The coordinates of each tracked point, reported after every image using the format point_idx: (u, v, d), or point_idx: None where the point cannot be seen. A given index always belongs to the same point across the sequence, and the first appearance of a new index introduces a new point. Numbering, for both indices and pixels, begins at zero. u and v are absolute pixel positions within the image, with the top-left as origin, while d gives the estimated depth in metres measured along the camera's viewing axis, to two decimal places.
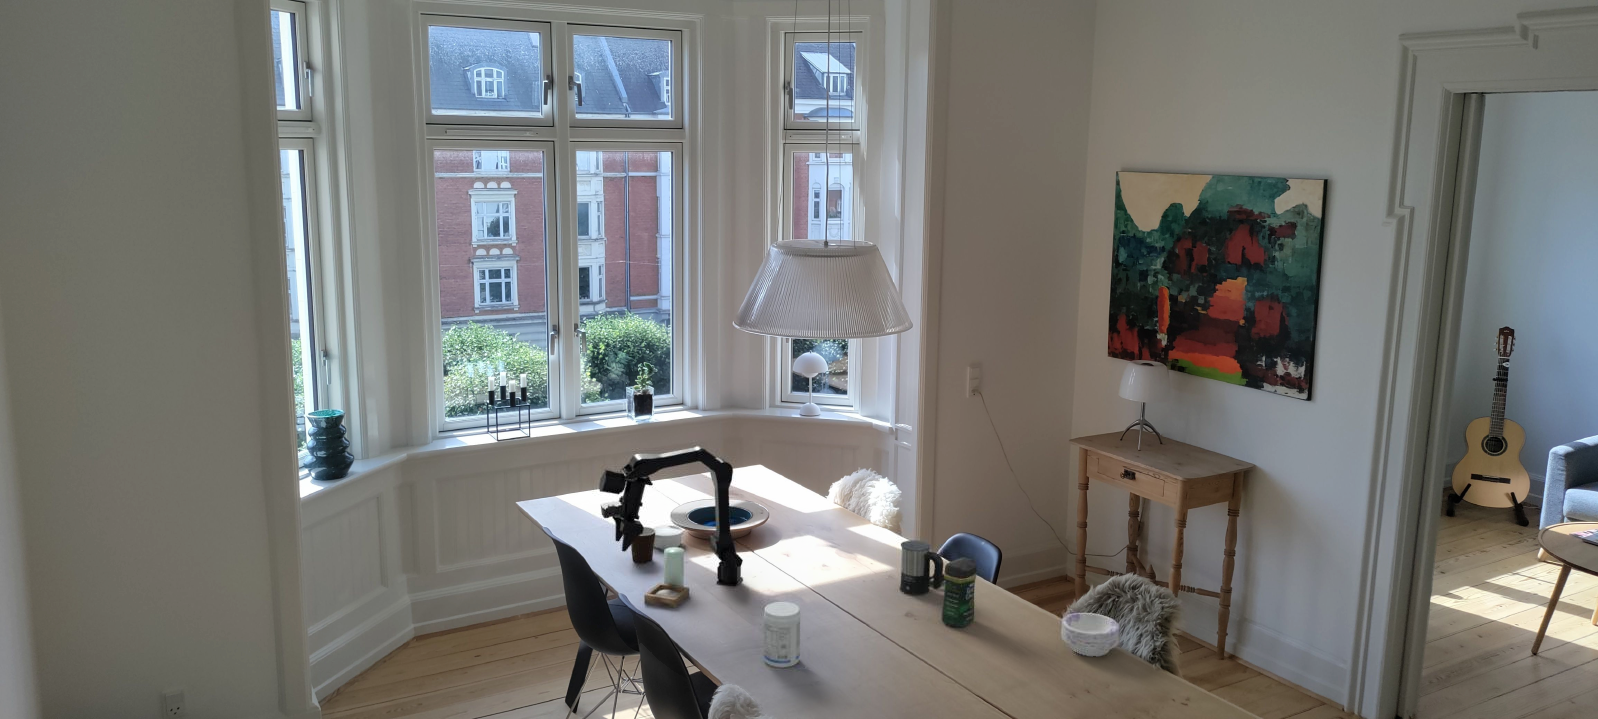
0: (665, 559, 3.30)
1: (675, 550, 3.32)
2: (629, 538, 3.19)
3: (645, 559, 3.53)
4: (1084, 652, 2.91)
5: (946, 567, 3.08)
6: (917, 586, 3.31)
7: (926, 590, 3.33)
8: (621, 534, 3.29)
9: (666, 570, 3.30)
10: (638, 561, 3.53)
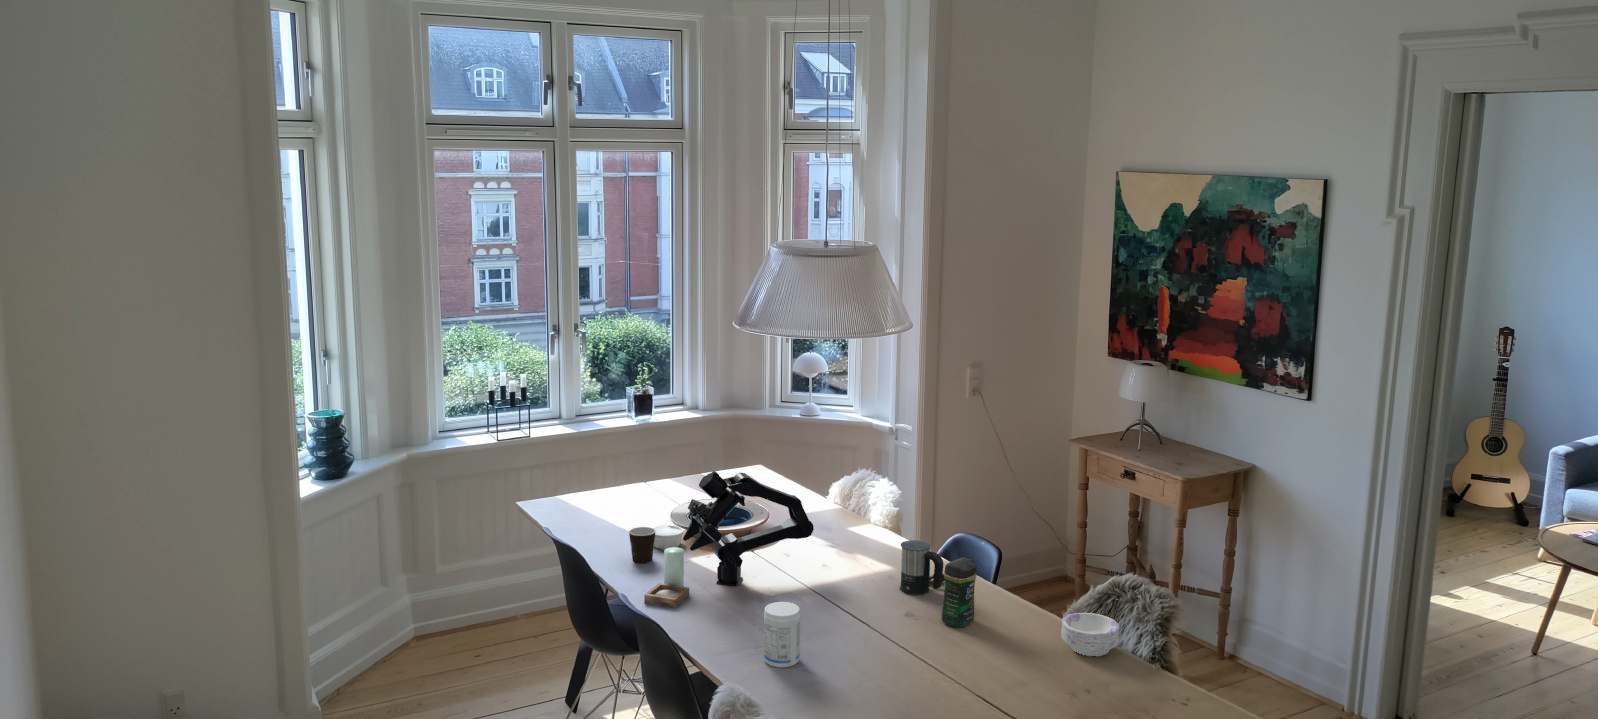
0: (665, 559, 3.30)
1: (675, 550, 3.32)
2: (702, 541, 3.28)
3: (645, 559, 3.53)
4: (1084, 652, 2.91)
5: (946, 567, 3.08)
6: (917, 586, 3.31)
7: (926, 590, 3.33)
8: (690, 536, 3.37)
9: (666, 570, 3.30)
10: (638, 561, 3.53)
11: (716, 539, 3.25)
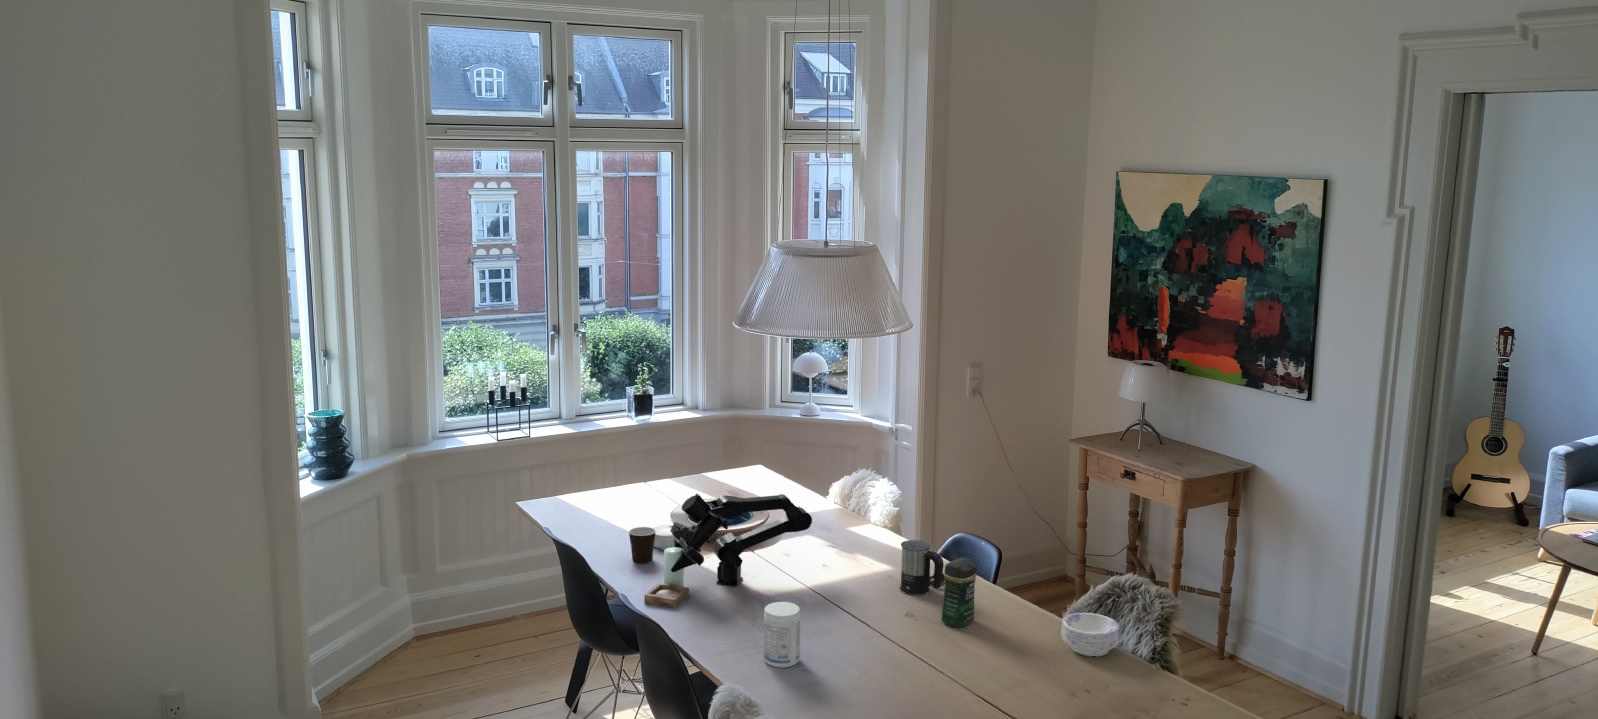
0: (665, 559, 3.30)
1: (675, 550, 3.32)
2: (683, 562, 3.29)
3: (645, 559, 3.53)
4: (1084, 652, 2.91)
5: (946, 567, 3.08)
6: (917, 585, 3.31)
7: (926, 590, 3.33)
8: None
9: (666, 570, 3.30)
10: (638, 561, 3.53)
11: (698, 563, 3.25)
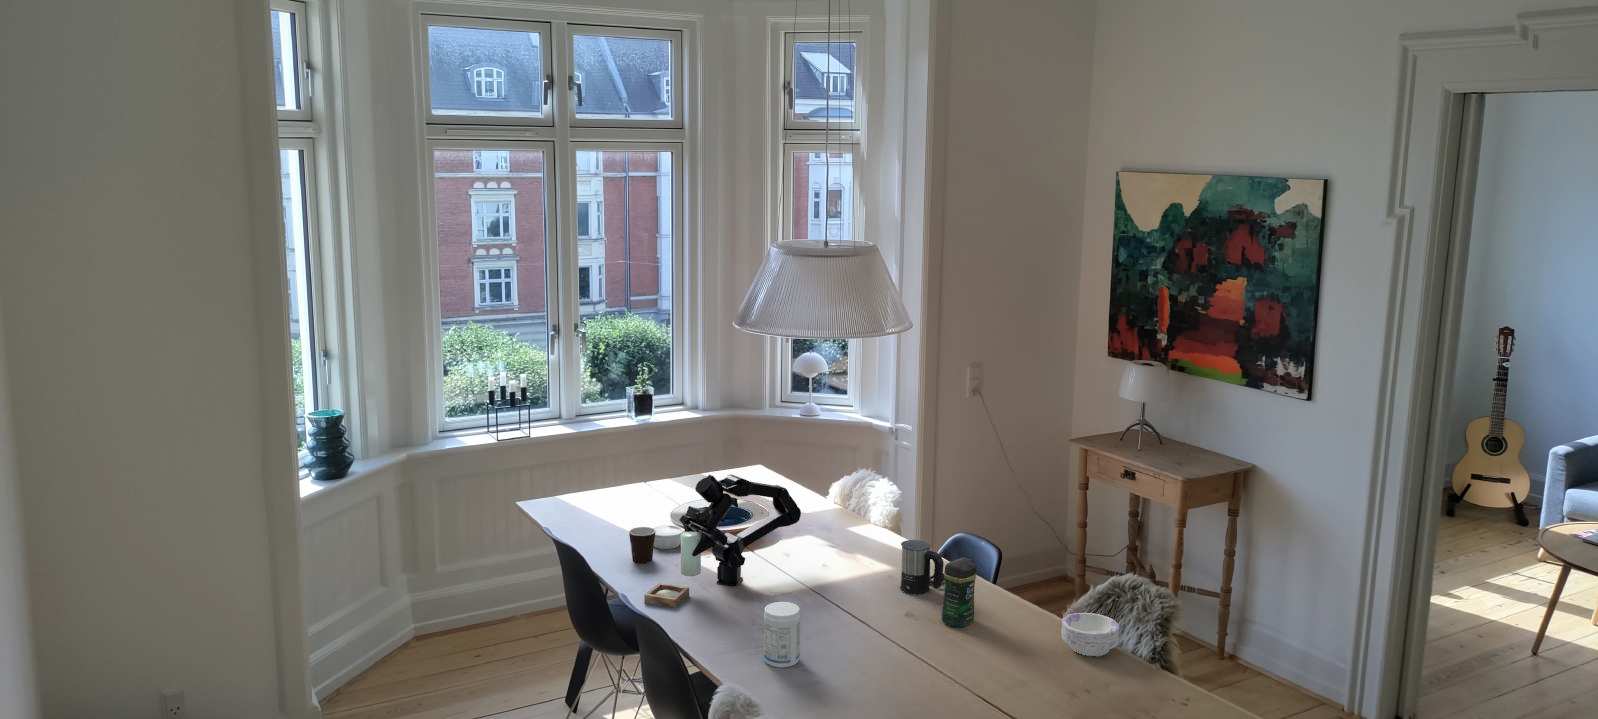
0: (684, 544, 3.25)
1: (691, 534, 3.27)
2: (704, 545, 3.25)
3: (645, 559, 3.53)
4: (1084, 652, 2.91)
5: (946, 567, 3.08)
6: (917, 585, 3.31)
7: (926, 589, 3.33)
8: None
9: (686, 555, 3.25)
10: (638, 561, 3.53)
11: (723, 543, 3.24)
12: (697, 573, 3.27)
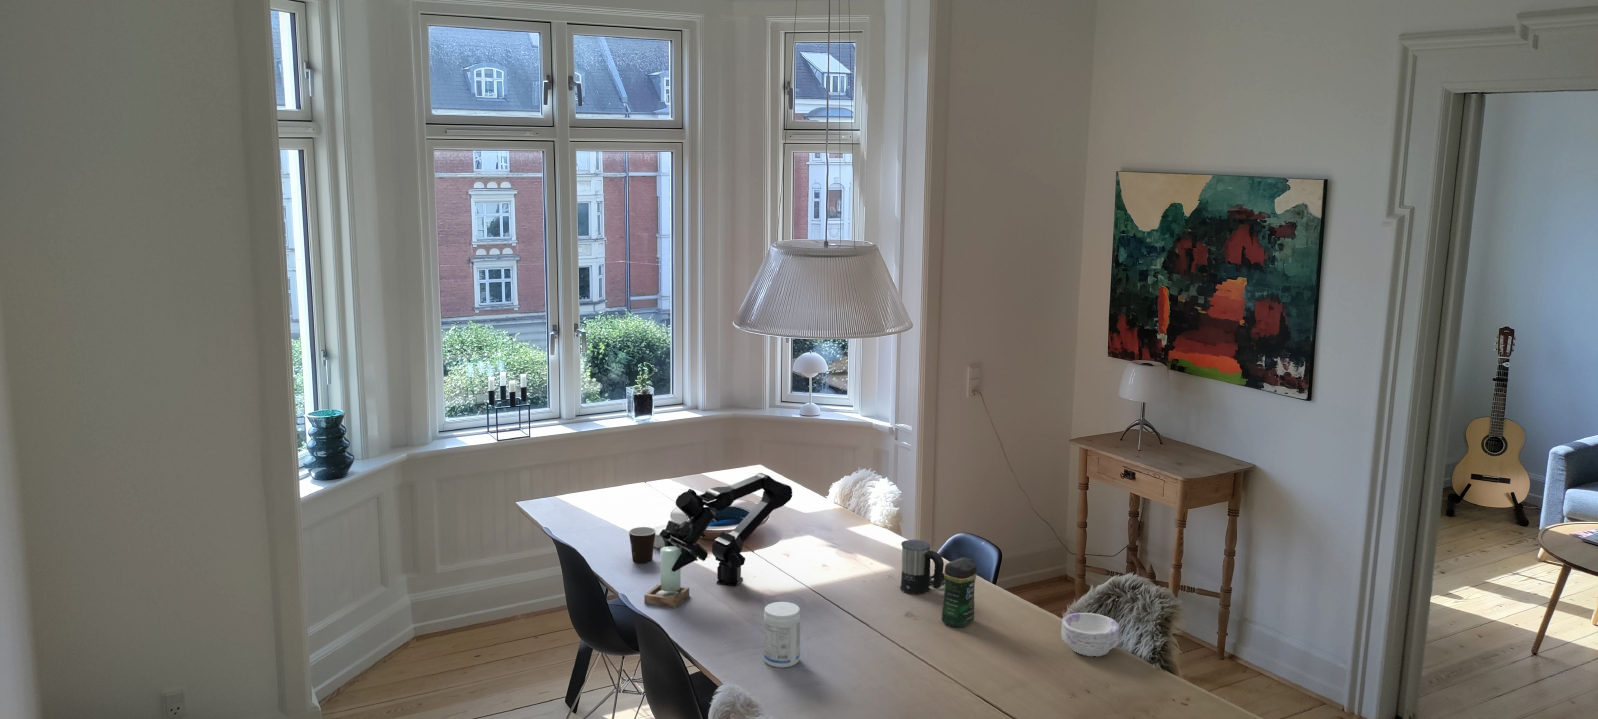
0: (664, 559, 3.21)
1: (671, 548, 3.23)
2: (684, 560, 3.21)
3: (645, 559, 3.53)
4: (1084, 652, 2.91)
5: (946, 567, 3.08)
6: (917, 585, 3.31)
7: (926, 589, 3.33)
8: None
9: (665, 570, 3.21)
10: (638, 561, 3.53)
11: (703, 558, 3.19)
12: (677, 588, 3.23)
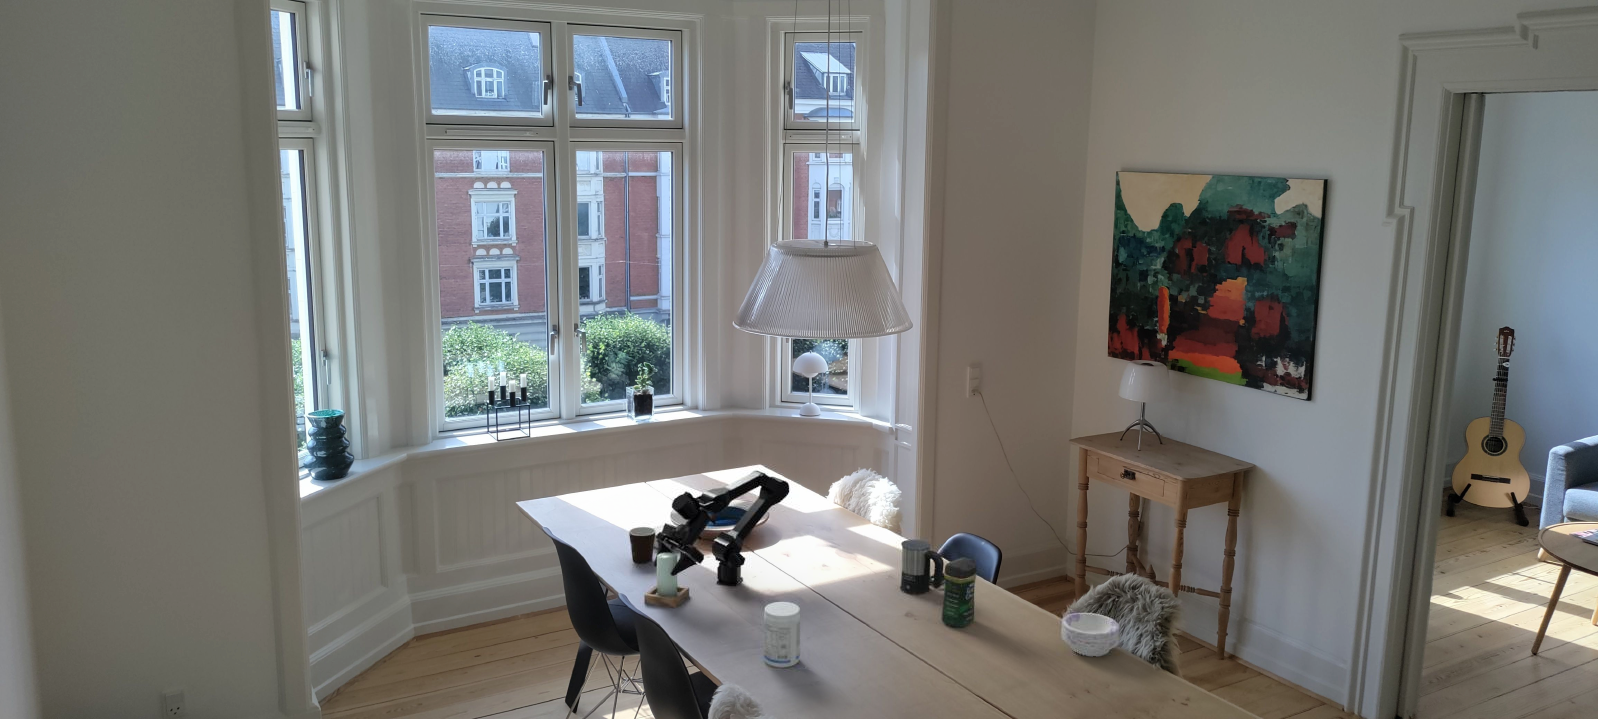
0: (660, 566, 3.20)
1: (667, 555, 3.23)
2: (683, 564, 3.19)
3: (645, 559, 3.53)
4: (1084, 652, 2.91)
5: (946, 567, 3.08)
6: (917, 585, 3.31)
7: (926, 589, 3.33)
8: None
9: (662, 577, 3.21)
10: (638, 561, 3.53)
11: (700, 561, 3.19)
12: (673, 595, 3.22)
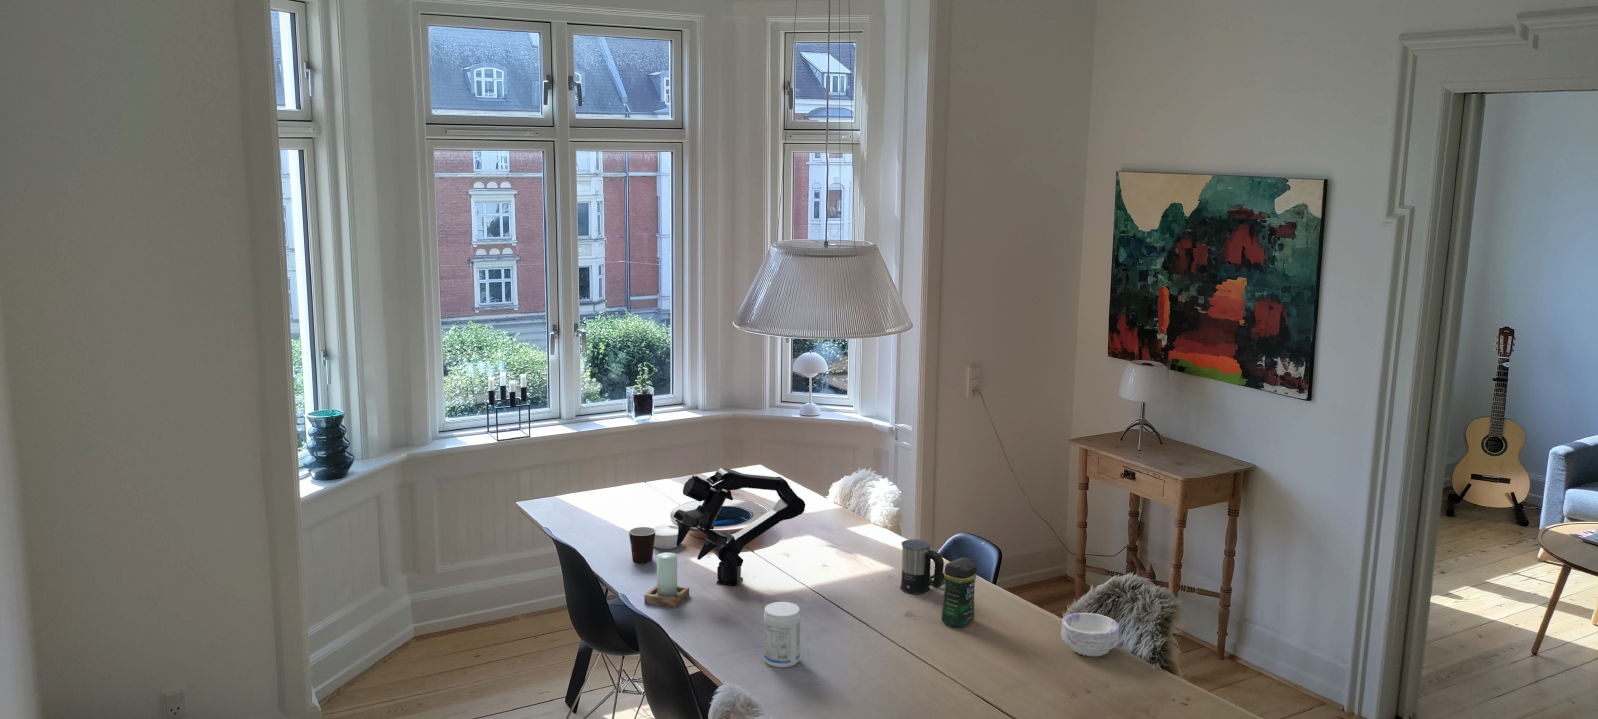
0: (660, 566, 3.20)
1: (667, 555, 3.23)
2: (708, 548, 3.29)
3: (645, 559, 3.53)
4: (1084, 652, 2.91)
5: (946, 567, 3.08)
6: (918, 585, 3.32)
7: (926, 589, 3.33)
8: (682, 539, 3.35)
9: (662, 577, 3.21)
10: (638, 561, 3.53)
11: (724, 544, 3.29)
12: (673, 595, 3.22)
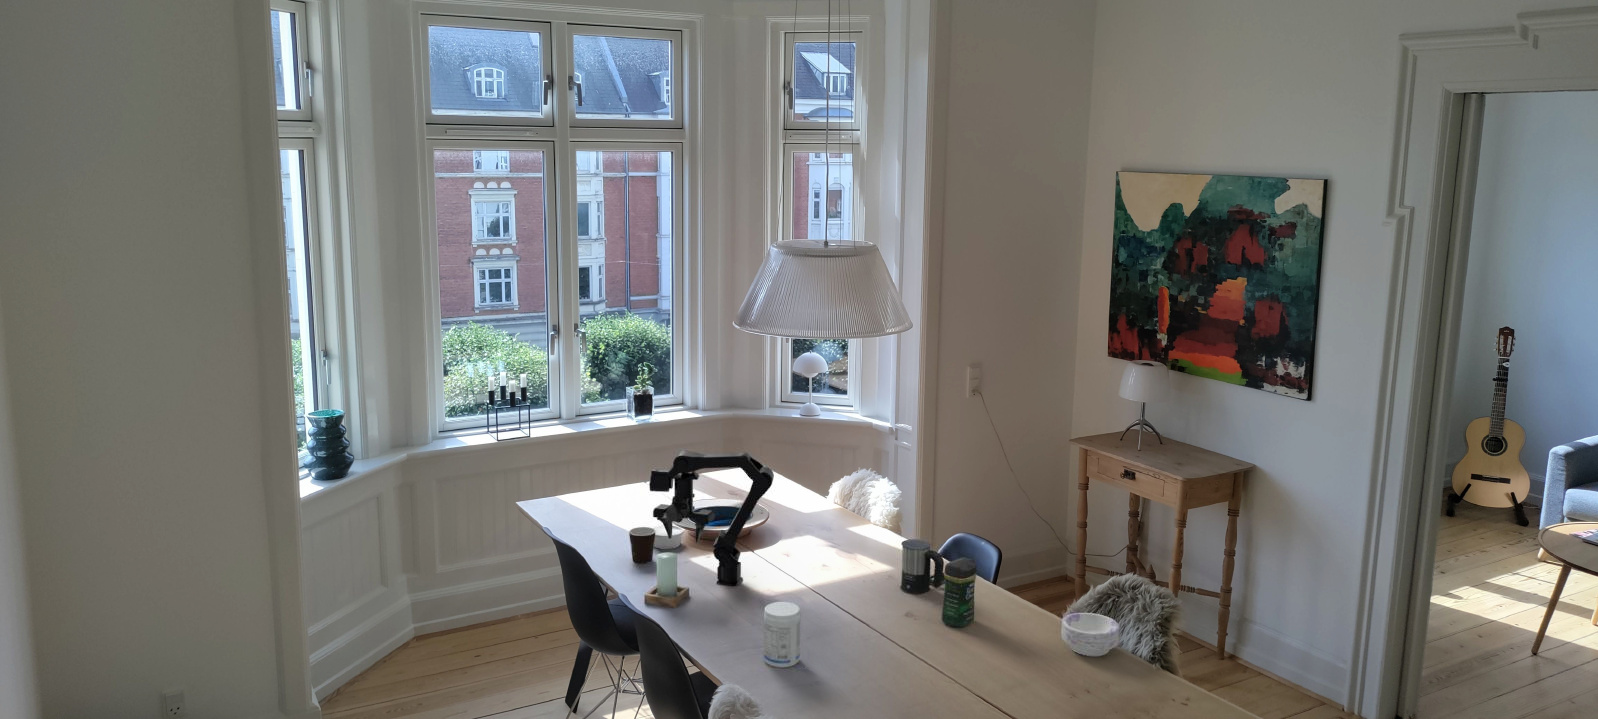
0: (660, 566, 3.20)
1: (667, 555, 3.23)
2: (701, 528, 3.36)
3: (645, 559, 3.53)
4: (1084, 652, 2.91)
5: (946, 567, 3.08)
6: (918, 585, 3.32)
7: (927, 589, 3.33)
8: (671, 530, 3.40)
9: (662, 577, 3.21)
10: (638, 561, 3.53)
11: (713, 518, 3.35)
12: (673, 595, 3.22)
